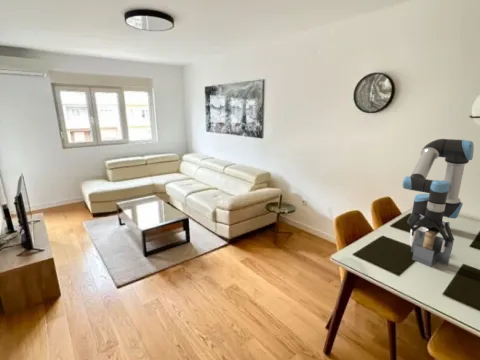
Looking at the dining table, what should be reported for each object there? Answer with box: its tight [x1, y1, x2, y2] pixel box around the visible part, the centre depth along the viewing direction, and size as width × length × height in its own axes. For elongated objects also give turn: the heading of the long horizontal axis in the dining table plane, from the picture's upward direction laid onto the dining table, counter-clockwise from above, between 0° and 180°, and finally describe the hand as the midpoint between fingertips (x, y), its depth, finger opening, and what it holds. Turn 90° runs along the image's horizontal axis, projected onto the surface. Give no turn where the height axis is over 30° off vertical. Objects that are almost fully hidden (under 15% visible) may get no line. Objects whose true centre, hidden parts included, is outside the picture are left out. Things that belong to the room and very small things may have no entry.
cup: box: [409, 226, 430, 248], centre depth 158 cm, size 9×9×12 cm
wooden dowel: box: [423, 230, 437, 250], centre depth 142 cm, size 4×4×14 cm
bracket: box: [410, 229, 455, 268], centre depth 143 cm, size 10×18×14 cm, turn 34°
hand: (427, 246), depth 143 cm, fingers open, 13 cm apart
